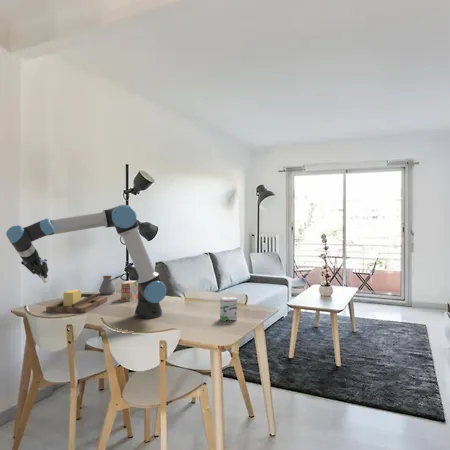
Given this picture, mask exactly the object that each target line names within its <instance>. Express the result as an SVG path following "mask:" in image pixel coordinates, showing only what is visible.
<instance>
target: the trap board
mask: <svg viewBox="0 0 450 450" xmlns="http://www.w3.org/2000/svg"><path fill="white" fill-rule="evenodd" d="M106 302H108V296H98V293H81V301H78V302H76V303H74V304H72V306H63V299H62V300H60V301H57V302H55V303H52V304H50V305H47V306H45V312H46V313H66V314H67V313H68V314H69V313H73V314H76V313H77V314H86V313H88V312H90V311H92V310H94V309H96V308H98V307H99V306H101V305H104V304H105V303H106Z"/></svg>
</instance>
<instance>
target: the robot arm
mask: <svg viewBox="0 0 450 450" xmlns="http://www.w3.org/2000/svg"><path fill="white" fill-rule="evenodd" d="M100 227H105V228H115V231H116V233H117V235H119V236H120V237H121V238H122V240H123V242H124V245H125V247H126V249H127V251H128V254H129V257H130V259H131V261H132V263H133V266H134V269H135V270H136V273H137V276H138V277H137V283H138V298H137V304H136V307H135V310H134V317H135V318H137V319H155V318H159V317H161V316H162V315H163V310H162V307H161V305H160V302H162V301H163V300H164V299H165V297H166V295H167V286H166V285H165V284H164V282H163V281H162V278H161V276H160V274H159V272H157V271H155V269H154V266H153V265H152V262H151V259H150V256H149V254H148V252H147V249H146V247H145V244H144V242H143V239H142V237H141V234H140V232H139V228H140V225H139V222H138V219H137V213H136V211H135V209H134V208H132V207H131V206H130V205H127V204H121V205H117V206H115V207H112V208H108V209H103V210H102V211H101V212H96V213H95V212H94V213H90V214H89V213H88V214H81V215H76V216H70V217H63V218H57V219H51V220H50V218H44V219H42V220H39V221H37V222H34V223H33V224H30V225H27V226H25V227H23V226H21V225H13V226H11V227H9V228H8V229H7V230H6V233H5V235H6V237H7V239H8V241H9V243H10V244H11V246H12V247H13V248H14V249H15V251H16V252H17V254H18V255H19V257H20V259H21V262H20V265H23V267H25V268H26V269H27V270H28V271H29V272H30V273H31V274H33V275H37V276H38V277H39V278H40V279H41V280H42V282H43V284H47V283H48V281H49V277H48V272H49V268H48V264H47V262H48V259H47V258H44V259H42V257H40V256H39V252H38V250H37V249H36V247H35V246H34V244H33V242H34V241H36V240H40V239H42V238H44V237H47V236H53V235H58V234H65V233H70V232H77V231H82V230H83V231H84V230H88V229H96V228H100Z"/></svg>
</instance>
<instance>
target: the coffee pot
mask: <svg viewBox="0 0 450 450" xmlns="http://www.w3.org/2000/svg"><path fill="white" fill-rule="evenodd" d="M112 277H113V276H112V275H103V276H102V278H103V279H102V282H101V284H100V287H99V288H98V289H99V290H98V292H99V293H100V294H101V295H105V296H106V295H113V294H114V293H115V292H116V287H115V285H114V284H113V281H114V280H117V279H119V278H123V277H124V276H123V274H121V275H118V276H115V277H113V278H112Z"/></svg>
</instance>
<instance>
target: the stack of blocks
mask: <svg viewBox="0 0 450 450" xmlns="http://www.w3.org/2000/svg"><path fill="white" fill-rule="evenodd" d="M120 286H121V289H120V290H121V291H120V293H121V295H120V296H121V302H129V303H130V302H132V301H134V299H135V300H136V299H138V280H130V279H129V280H126V281H124V282H121V285H120Z"/></svg>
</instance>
